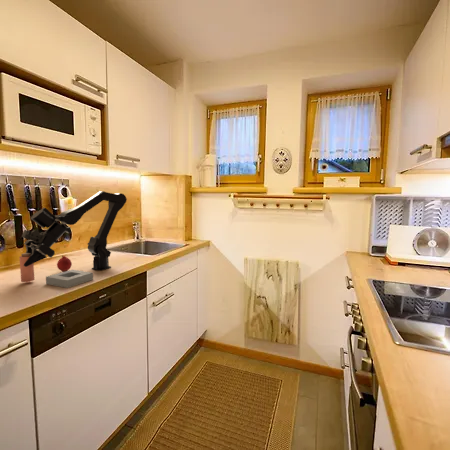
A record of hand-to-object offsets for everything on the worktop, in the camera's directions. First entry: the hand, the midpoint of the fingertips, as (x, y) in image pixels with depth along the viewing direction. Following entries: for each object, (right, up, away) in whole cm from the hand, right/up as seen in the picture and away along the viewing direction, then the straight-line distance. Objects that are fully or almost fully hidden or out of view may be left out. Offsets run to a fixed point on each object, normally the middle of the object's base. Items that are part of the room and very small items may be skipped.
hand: (22, 265), depth 108 cm
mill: (+1, -6, +2) cm, 7 cm away
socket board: (+17, -7, +4) cm, 19 cm away
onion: (+6, -6, +18) cm, 20 cm away
